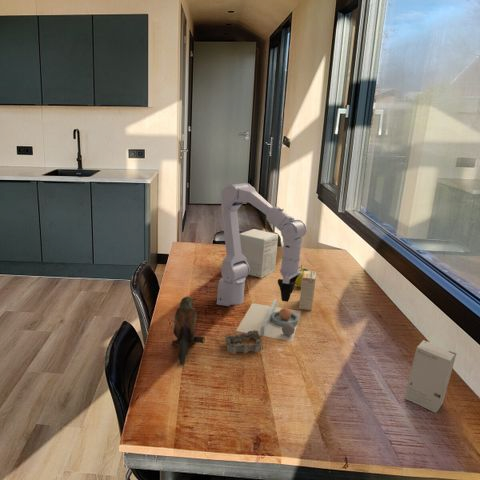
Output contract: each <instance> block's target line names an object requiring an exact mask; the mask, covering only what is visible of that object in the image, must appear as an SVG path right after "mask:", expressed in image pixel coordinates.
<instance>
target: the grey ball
mask: <svg viewBox="0 0 480 480" xmlns="http://www.w3.org/2000/svg"><path fill="white" fill-rule="evenodd" d="M294 331H295V328H294V326H293V324H291V323H285V324H284V325H283V326H282V332H283V333H284V334H285V335H287V336H290V335H292V334H293V333H294ZM295 332H296V331H295Z"/></svg>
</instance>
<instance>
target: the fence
mask: <svg viewBox="0 0 480 480" xmlns="http://www.w3.org/2000/svg"><path fill="white" fill-rule="evenodd" d="M277 305H278V299H276V298H274V299H273V301H272V303H271V305H270V306H271V308H270V310H269V312H268V314H267V316H266V318H265V320H264V322H263V324H262V326H261V337H265V336H264V334H265V332H266V330H267V328H268V325H269V323H270V321H271V316H272V314H273V312H275V310H276V307H278V306H277Z"/></svg>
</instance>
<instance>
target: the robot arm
mask: <svg viewBox="0 0 480 480" xmlns="http://www.w3.org/2000/svg"><path fill="white" fill-rule="evenodd" d="M245 203H249V204H251V205H252V206H253V207H254V208H256V209H257V210H259V211H260V212H261V213H263V214H264V215H265V216H266V221H268V222H269V223H270V224H272V226H274V227H275V229H277V230H278V231H280V234H281V236H282V243H283V245H282V255H281V264H280V269H279V273H280V275H281V277H282V278H278V279H277V285H278V287H279V291H280V297H281V298H280V299H281V301H282V302H289V301H290V298H291V294H292V293H293V290H294V287H295V286H296V285H295V284H296V282H295V281H296V279H297V277H298V276H299V275H301V274H302V271H299V270H300V268H299V267H300V260H301V252H302V251H301V249H302V243H303V242H302V240H303V237H305V235H306V233H307V227H306V224H305V223H304V222H303V221H302V220H301V219H295V217H294V216H291V215H289V214H288V213H287V212H286V211H285V210H284V208H283V207H282V206H281V207H280V206H273V205H272V204H270V202H268V201H267V200H266V199H265V198H264V197H263V196H262V195H261V194H259V192H257V191H256V188H255V187H254V186H252V185H251V184H250V183H248V182H243V183H235V184H226V185H225V186H224V188H223V189H222V190H221V206H220V210H221V211H220V212H221V219H222V225H223V226H222V228H223V236H224V243H225V253H226V256H225V257H224V259H223V260H222V262H221V266H222V267H221V270H220V271H221V273H220V275H221V278H219V281H218V285H217V296H216V297H217V299H216V305H218V306H225V307H230V306H236V305H241V304H243V303H244V298H245V286H246V285H245V284H246V280H247V277H248V276H250V275H249V273H250V267H249V265H248V263H247V258H246V257H245V256H244V255H243V254H242V251H241V242H240V226H239V225H240V224H239V217H238V210H239V209H240V207H241V206H242V205H243V204H245Z"/></svg>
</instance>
